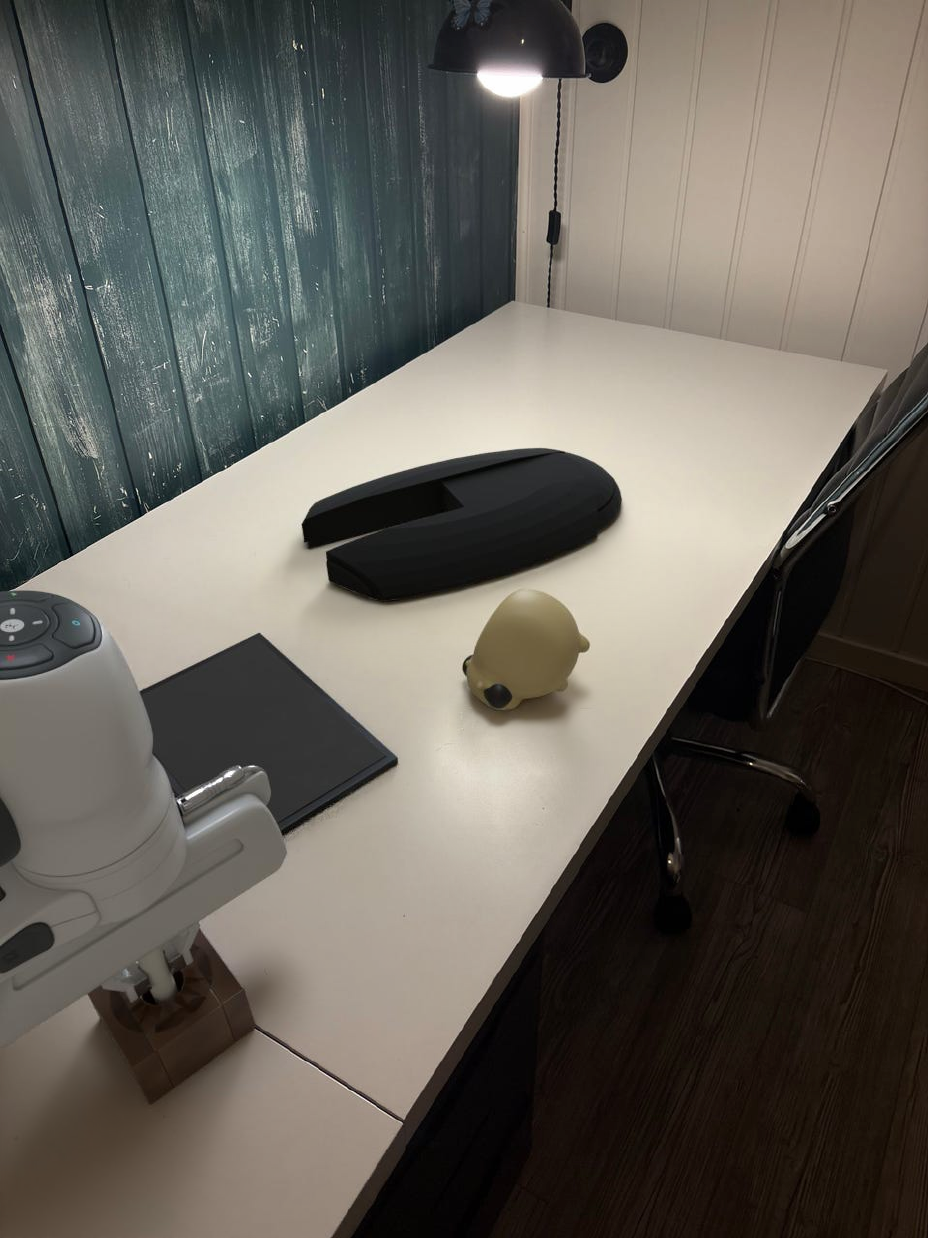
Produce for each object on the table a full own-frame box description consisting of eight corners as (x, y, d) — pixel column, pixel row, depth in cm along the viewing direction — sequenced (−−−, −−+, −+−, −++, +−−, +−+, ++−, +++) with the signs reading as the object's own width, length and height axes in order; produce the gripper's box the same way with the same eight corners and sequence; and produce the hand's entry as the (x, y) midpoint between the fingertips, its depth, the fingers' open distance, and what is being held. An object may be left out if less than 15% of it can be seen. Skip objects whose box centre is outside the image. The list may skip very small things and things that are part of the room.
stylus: (172, 1038, 63) (121, 921, 55) (162, 1021, 64) (110, 903, 56) (193, 1023, 64) (146, 905, 55) (182, 1007, 65) (135, 889, 56)
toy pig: (500, 683, 96) (426, 650, 90) (571, 596, 93) (500, 554, 87) (541, 744, 89) (463, 712, 82) (620, 651, 86) (545, 610, 79)
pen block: (150, 1106, 60) (131, 1069, 57) (99, 1017, 65) (79, 979, 62) (256, 1027, 64) (244, 989, 61) (201, 949, 69) (187, 910, 66)
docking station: (664, 528, 112) (669, 493, 109) (354, 624, 99) (349, 587, 96) (559, 444, 130) (561, 411, 127) (284, 515, 116) (279, 480, 113)
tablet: (232, 867, 74) (230, 860, 74) (108, 713, 89) (106, 706, 88) (398, 763, 83) (397, 756, 82) (260, 637, 97) (259, 631, 97)
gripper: (236, 725, 59) (268, 859, 68) (-104, 909, 49) (-14, 1039, 57) (289, 781, 55) (316, 915, 64) (-67, 993, 45) (22, 1118, 53)
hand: (157, 975), depth 60 cm, fingers closed on stylus, 1 cm apart
